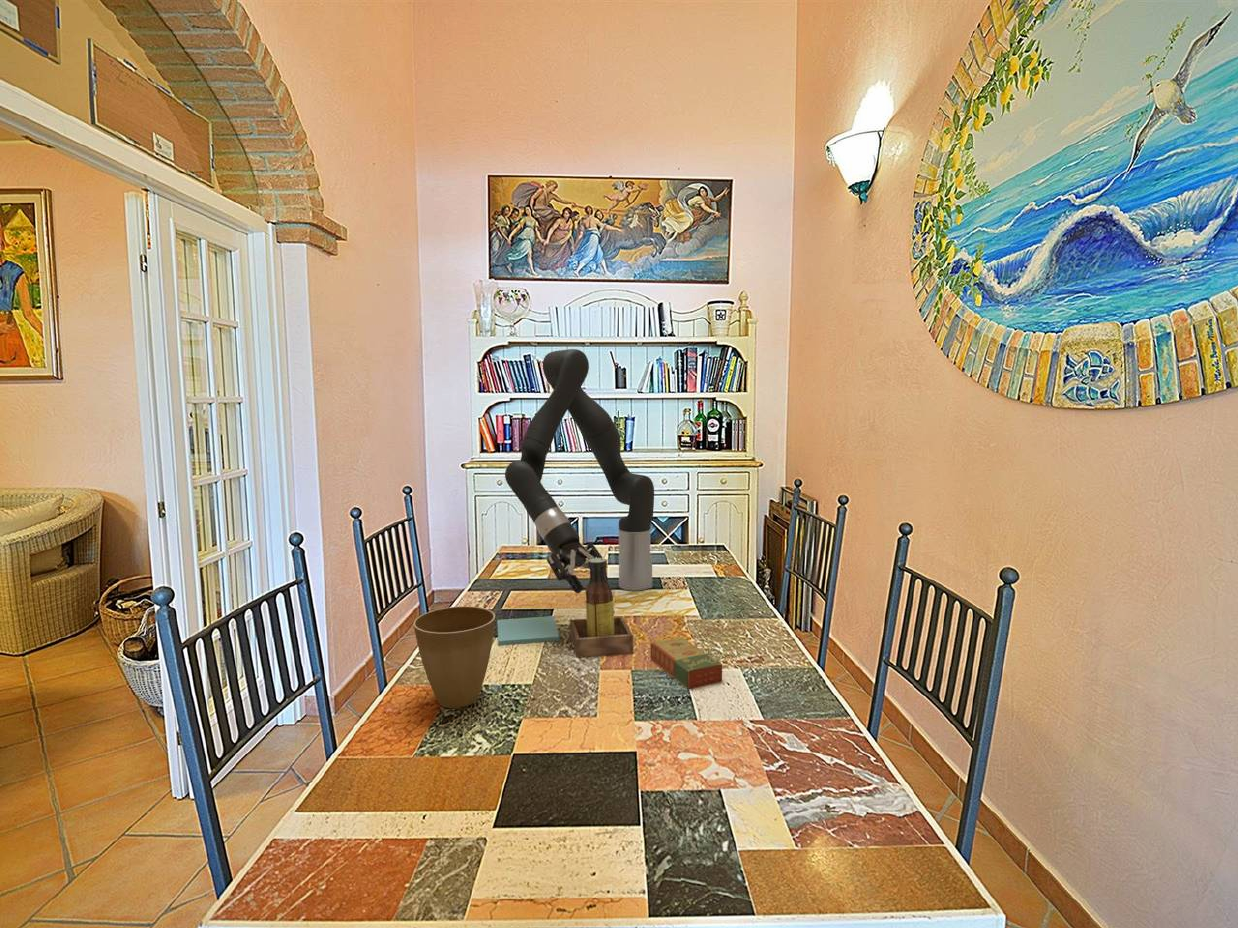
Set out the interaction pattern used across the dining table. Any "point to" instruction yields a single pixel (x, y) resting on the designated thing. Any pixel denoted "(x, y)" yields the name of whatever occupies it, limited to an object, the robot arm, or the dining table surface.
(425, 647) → the plant pot
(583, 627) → the frame
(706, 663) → the carton
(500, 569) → the dining table surface
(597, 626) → the sauce bottle
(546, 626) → the teal board
